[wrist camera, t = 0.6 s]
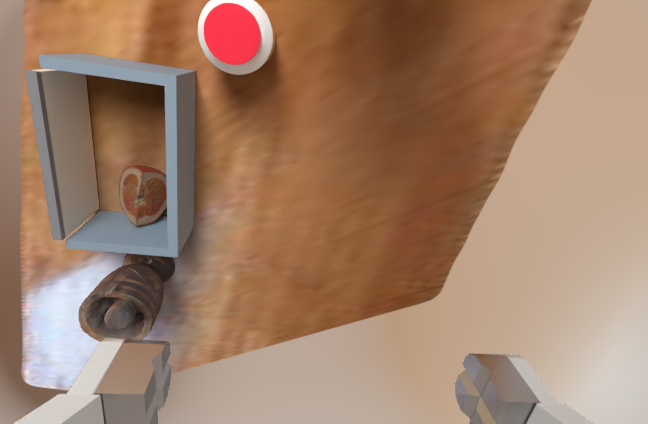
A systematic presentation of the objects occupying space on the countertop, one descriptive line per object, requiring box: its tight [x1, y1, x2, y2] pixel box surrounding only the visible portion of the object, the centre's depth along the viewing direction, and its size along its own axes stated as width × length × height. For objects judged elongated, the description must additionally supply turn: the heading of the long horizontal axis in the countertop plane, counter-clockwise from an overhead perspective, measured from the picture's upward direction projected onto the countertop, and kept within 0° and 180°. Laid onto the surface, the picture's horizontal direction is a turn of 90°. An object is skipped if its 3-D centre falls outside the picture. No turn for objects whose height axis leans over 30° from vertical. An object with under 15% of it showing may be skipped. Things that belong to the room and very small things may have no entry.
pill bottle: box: [198, 0, 276, 75], centre depth 40 cm, size 8×8×11 cm
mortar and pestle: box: [79, 253, 174, 342], centre depth 47 cm, size 12×9×20 cm
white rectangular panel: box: [25, 69, 99, 240], centre depth 44 cm, size 19×1×10 cm, turn 171°
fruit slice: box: [119, 166, 167, 227], centre depth 50 cm, size 8×7×5 cm
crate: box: [39, 54, 196, 258], centre depth 46 cm, size 22×13×9 cm, turn 171°
